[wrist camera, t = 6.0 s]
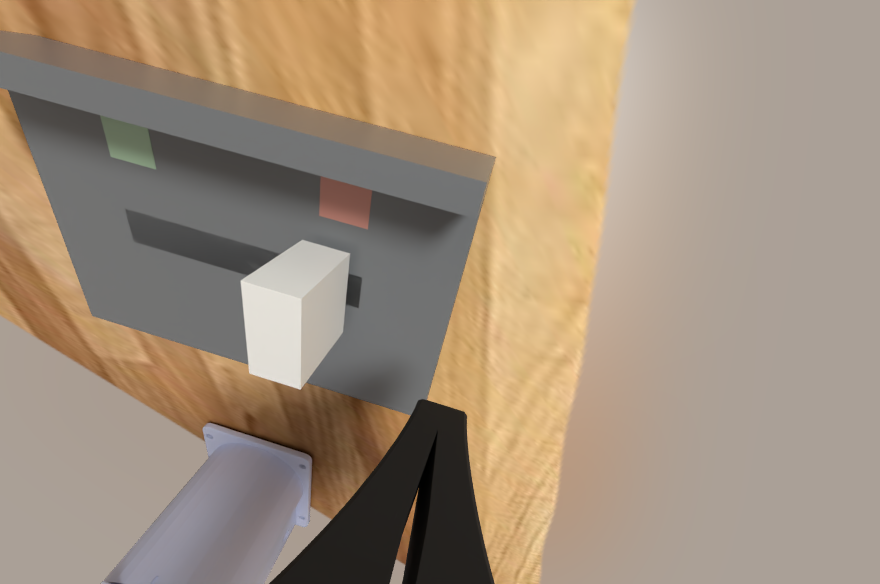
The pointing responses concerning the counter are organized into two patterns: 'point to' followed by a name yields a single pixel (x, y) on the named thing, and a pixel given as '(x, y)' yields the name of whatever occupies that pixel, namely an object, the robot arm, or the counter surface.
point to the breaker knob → (294, 311)
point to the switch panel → (245, 208)
